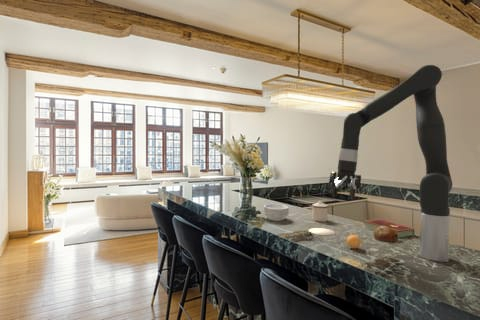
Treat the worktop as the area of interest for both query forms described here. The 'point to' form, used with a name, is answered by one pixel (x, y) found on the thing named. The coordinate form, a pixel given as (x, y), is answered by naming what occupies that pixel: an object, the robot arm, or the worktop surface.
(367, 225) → the hardcover book
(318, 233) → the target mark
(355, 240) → the ball
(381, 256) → the worktop surface
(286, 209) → the paper bowls
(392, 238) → the bread roll
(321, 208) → the teacup with lid
